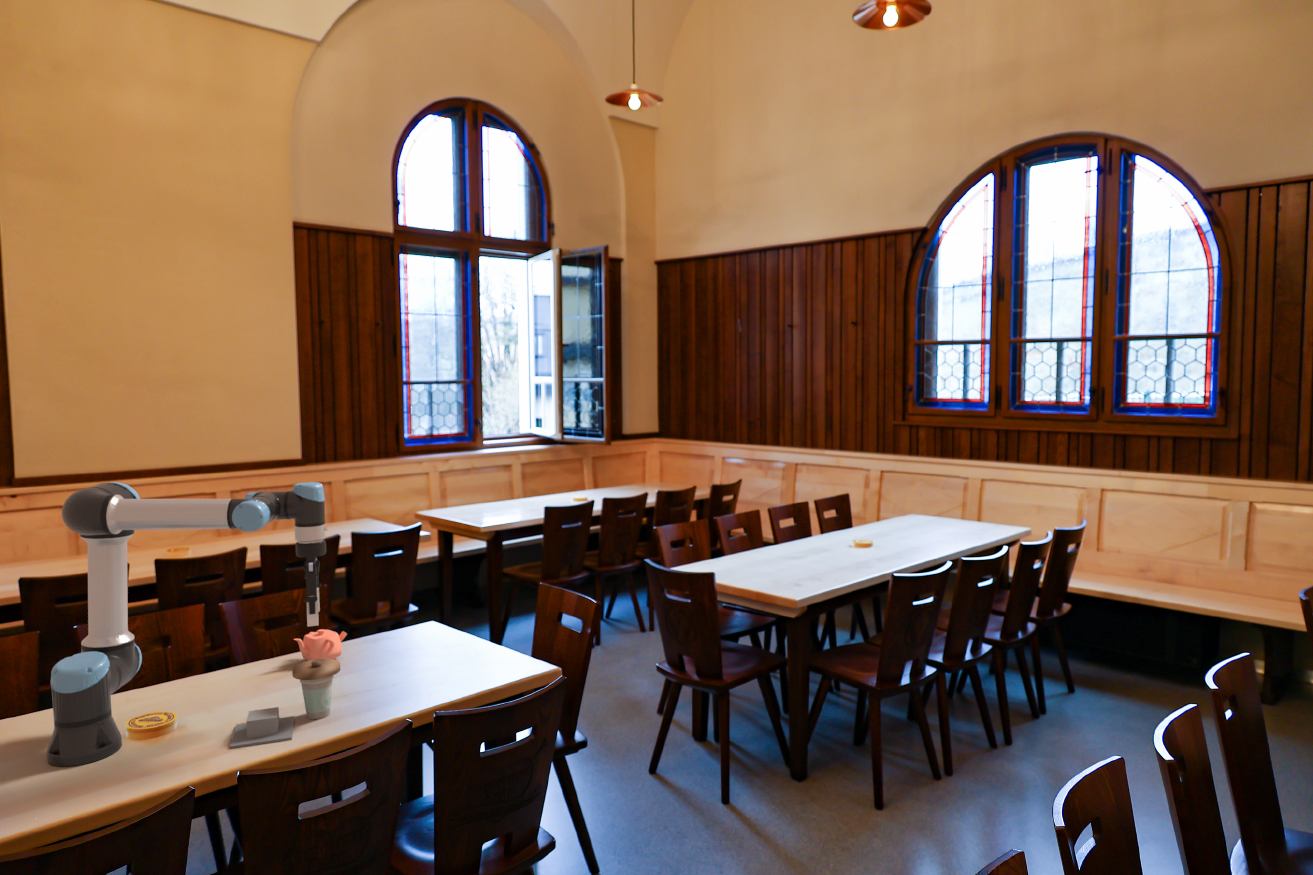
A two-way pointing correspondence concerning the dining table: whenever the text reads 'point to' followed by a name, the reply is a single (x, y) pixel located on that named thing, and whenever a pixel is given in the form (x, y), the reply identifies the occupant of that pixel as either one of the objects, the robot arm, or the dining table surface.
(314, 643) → the teapot
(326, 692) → the coffee cup
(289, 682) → the dining table surface
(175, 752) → the dining table surface
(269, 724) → the grey stepped base plate
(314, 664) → the lid
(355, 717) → the dining table surface
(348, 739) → the dining table surface
